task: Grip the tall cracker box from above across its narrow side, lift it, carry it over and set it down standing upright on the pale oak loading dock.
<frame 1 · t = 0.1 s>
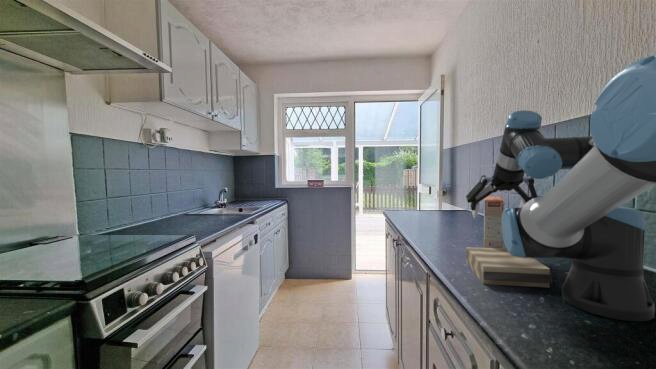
hand: (496, 216, 96), 15 cm above the worktop, tool tilted 35°, fingers open, 13 cm apart
dock: (502, 273, 87), on the worktop
cracker box: (493, 256, 103), on the worktop
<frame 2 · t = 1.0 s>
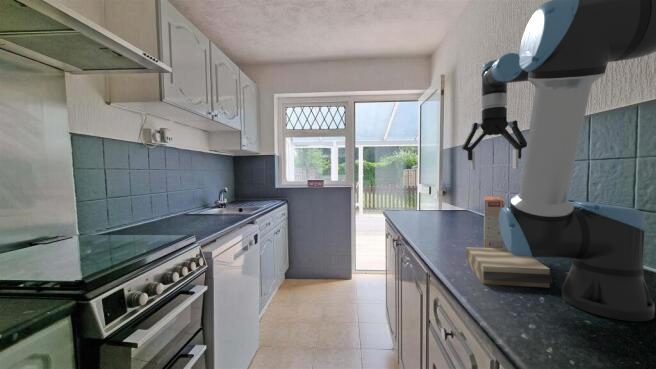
hand: (493, 169, 101), 31 cm above the worktop, tool pointing down, fingers open, 13 cm apart
nothing on the worktop moved.
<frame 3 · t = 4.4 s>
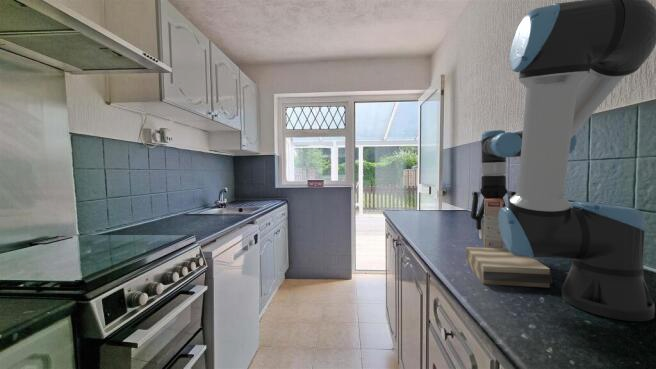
hand: (493, 238, 103), 6 cm above the worktop, tool pointing down, fingers closed on cracker box, 7 cm apart
cracker box: (493, 256, 103), on the worktop, touching gripper
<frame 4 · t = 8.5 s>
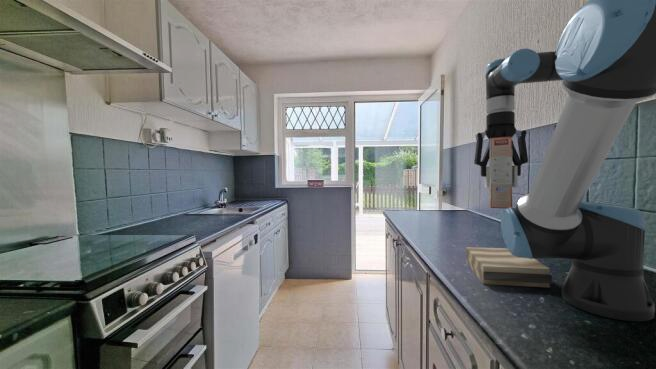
hand: (500, 186, 90), 26 cm above the worktop, tool pointing down, fingers closed on cracker box, 7 cm apart
cracker box: (500, 207, 90), point 19 cm above the worktop, touching gripper
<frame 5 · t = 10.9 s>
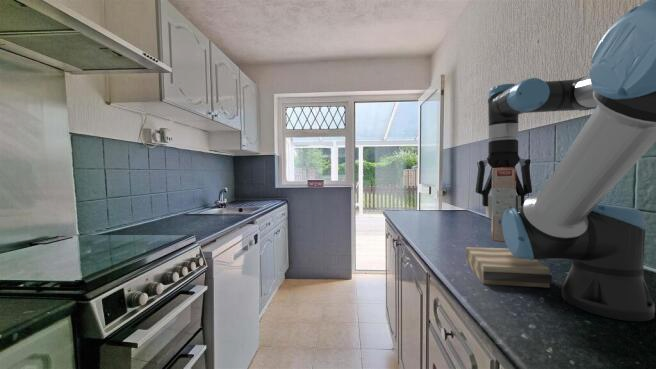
hand: (502, 217, 86), 17 cm above the worktop, tool pointing down, fingers closed on cracker box, 7 cm apart
cracker box: (503, 238, 86), point 11 cm above the worktop, touching gripper
when the fingers open (13 cm above the worktop, at t = 13.0 s): cracker box drops 1 cm, resting on dock.
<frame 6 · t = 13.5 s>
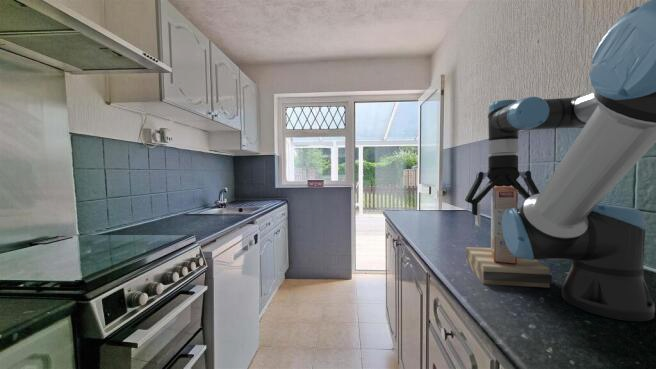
hand: (502, 226, 86), 14 cm above the worktop, tool pointing down, fingers open, 13 cm apart
cracker box: (503, 257, 86), point 5 cm above the worktop, touching dock
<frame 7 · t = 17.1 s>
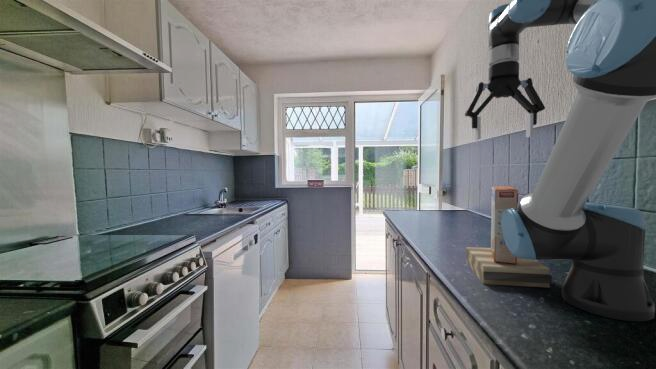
hand: (503, 138, 84), 40 cm above the worktop, tool pointing down, fingers open, 13 cm apart
nothing on the worktop moved.
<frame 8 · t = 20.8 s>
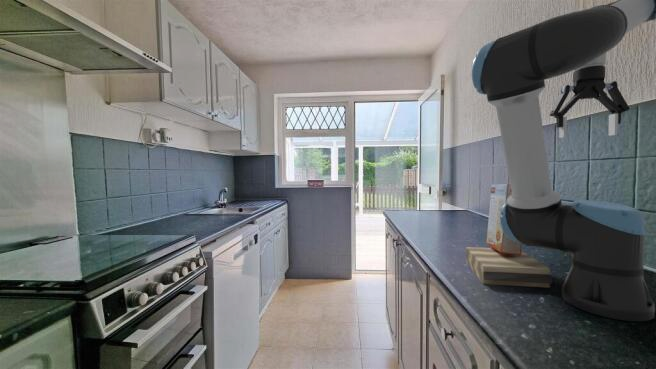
hand: (587, 136, 92), 41 cm above the worktop, tool pointing down, fingers open, 13 cm apart
cracker box: (502, 250, 92), point 5 cm above the worktop, touching arm, dock
at the end: cracker box inside the target area on the dock (6.2 cm from its centre), point 5.3 cm above the dock's base; cracker box tilted 7°; the gripper is holding nothing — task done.
